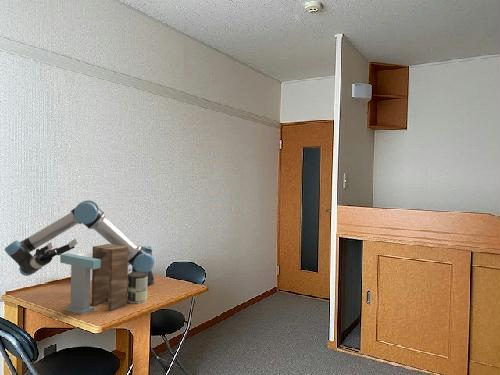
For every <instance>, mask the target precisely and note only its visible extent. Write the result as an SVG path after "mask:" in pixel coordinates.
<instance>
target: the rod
mask: <svg viewBox="0 0 500 375" xmlns="http://www.w3.org/2000/svg"><path fill="white" fill-rule="evenodd" d="M59 258H60V260H59V262H60V263H61V264H66V265H70V266H71V265H74V266H79V267H84V268H89V269H97V268H101V259H96V258H90V257H85V256H80V255H78V254H73V253H68V252H66V253H62V254H61V255H59Z"/></svg>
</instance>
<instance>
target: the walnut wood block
mask: <svg viewBox="0 0 500 375" xmlns="http://www.w3.org/2000/svg"><path fill="white" fill-rule="evenodd" d="M92 253H93V255H92V258H96V259H101V268H97V269H92V281H91V298H90V300H91V303H90V304H91V305H90V306H91V307H97V306H100V305H102V304H105V303H107V306H108V307H107V308H108V309H107V310H108V312H112V311H115V310H117V309H121V308H123V307H126V306H127V305H128V303H127V302H128V301H127V299H128V292H127V276H128V274H127V270H128V247H126V246H119V245H113V244H111V243H105V244H100V245H95V246H92Z"/></svg>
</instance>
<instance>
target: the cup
mask: <svg viewBox="0 0 500 375" xmlns="http://www.w3.org/2000/svg"><path fill="white" fill-rule="evenodd" d="M77 255H80V256H85V257H90V258H92V255H93V252H82V253H77ZM90 282H92V269H90Z"/></svg>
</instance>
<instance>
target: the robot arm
mask: <svg viewBox="0 0 500 375" xmlns="http://www.w3.org/2000/svg"><path fill="white" fill-rule="evenodd" d="M76 225H84V226H85V227H87V229H89V230H94V231H95V232H97V233H98V234H99V235H100V236H101V237H102V238H103V239H105V240H106V241H107V242H108V244H113V245H119V246H126V247H128V263H129V264H131V265H132V272H146V273H148V283H147V287H149V286H151V285H153V284H155V277H154V274H153V271H152V270H153V268H154V266H155V258H154V256H153V247H152V245H137V244H136V243H135V242H133V241H132V240H131V239H130V237H128V236H127V235H125V234H124V233H123V232H122V231H121V230H120V229H118V227H116V226H115V225H114V224H113V223H112V222H111V221H110V220H108V218H106V213H105V212H104V211H102V209H100V208H99V206H98V204H97V203H96V202H94V201H92V200H84V201H81V202H80V203H78V204H77V205H76V207H74V208H72V209H71V210H70V212H69V213H67V214H66V215H64V216H63V217H61V218H59V219H57V220H56V221H54V222H52V223H51V224H49V225H47V226H46V227H44V228H42V229H41V230H39V231H37V232H35V233H33V234H32V235H30V236H29V237H27V238H25V239H23V240H20V241H19V240H13V241H12V242H11V243H10V244H9V245H7V246H6V247H5V248H4V251H5V253H6V254H7V256H9V257H10V258H11V259H12V260H13V261H14V262H15V263H16V264H17V265H18V266H19V268H18V270H19V273H20V274H21V275H22V276H26V277H28V276H31V275H33V274H35V273H36V272H38V271H39V270H42V269H43V267H45V266H46V265H49V263H51V261H53V258H54V257H55V256H59V257H60V255H61V254H66V253H68V252H69V251H71V250H73V249H75V248H76V247H75V246H76V245H78V244H79V240H78V238H77V237H75V238H73V240H71V241H69V242H68V243H67V244H65V245H61V246H59V247H55V246H54V243H53V242H54V241H52V240H53V239H54V238H56V237H58V236H60V235H61V234H64V233H65V232H66V231H68V230H70V229H71V228H73V227H75V226H76ZM49 241H50V242H49ZM46 243H47V244H46ZM44 244H45V245H44ZM42 245H44V246H43V247H41V246H42ZM39 247H41V248H40V249H39ZM54 247H55V248H54ZM34 250H35V253H34V255H32V254H31V253H32V252H33V251H34ZM132 272H131V273H132Z"/></svg>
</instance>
